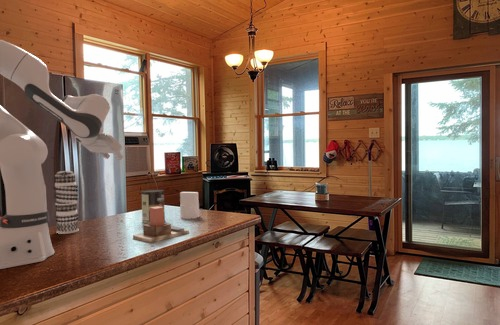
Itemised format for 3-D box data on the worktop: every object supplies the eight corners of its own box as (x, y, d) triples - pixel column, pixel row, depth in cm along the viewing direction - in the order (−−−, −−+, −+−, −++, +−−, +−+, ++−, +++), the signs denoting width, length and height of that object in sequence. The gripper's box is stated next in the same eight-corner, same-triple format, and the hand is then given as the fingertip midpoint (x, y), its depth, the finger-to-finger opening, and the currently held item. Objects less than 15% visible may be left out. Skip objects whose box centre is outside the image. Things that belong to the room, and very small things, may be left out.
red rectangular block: (156, 235, 139) (155, 208, 139) (150, 233, 142) (149, 207, 142) (164, 233, 142) (163, 207, 141) (158, 231, 145) (157, 206, 144)
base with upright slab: (176, 218, 178) (176, 193, 178) (187, 214, 187) (186, 190, 186) (192, 219, 175) (192, 193, 174) (202, 215, 183) (201, 191, 183)
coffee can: (168, 218, 177) (167, 189, 176) (159, 223, 167) (158, 192, 166) (148, 218, 179) (147, 189, 178) (138, 222, 169) (136, 192, 168)
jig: (150, 242, 133) (150, 229, 133) (133, 238, 140) (132, 226, 140) (189, 233, 147) (188, 221, 147) (171, 229, 154) (170, 218, 154)
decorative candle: (63, 235, 148) (60, 172, 147) (50, 232, 153) (47, 171, 152) (84, 230, 156) (81, 170, 155) (71, 228, 161) (69, 170, 160)
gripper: (110, 127, 138) (134, 153, 146) (83, 127, 151) (106, 151, 159) (99, 139, 135) (124, 165, 143) (72, 138, 147) (96, 162, 156)
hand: (114, 157), depth 151 cm, fingers open, 8 cm apart
